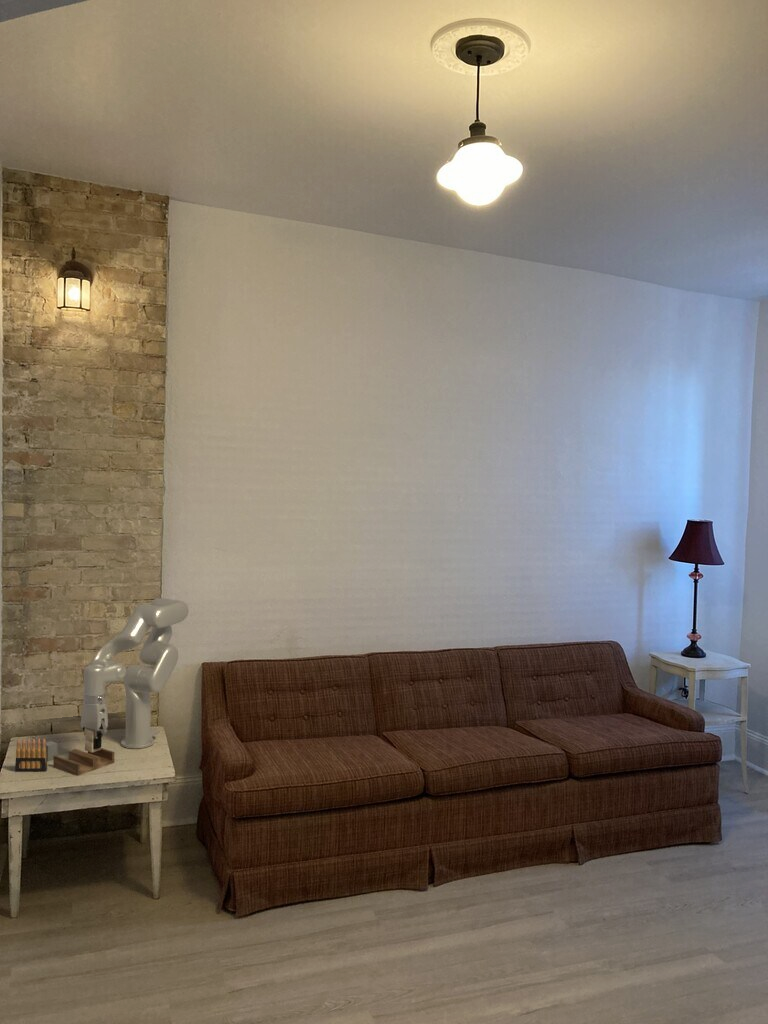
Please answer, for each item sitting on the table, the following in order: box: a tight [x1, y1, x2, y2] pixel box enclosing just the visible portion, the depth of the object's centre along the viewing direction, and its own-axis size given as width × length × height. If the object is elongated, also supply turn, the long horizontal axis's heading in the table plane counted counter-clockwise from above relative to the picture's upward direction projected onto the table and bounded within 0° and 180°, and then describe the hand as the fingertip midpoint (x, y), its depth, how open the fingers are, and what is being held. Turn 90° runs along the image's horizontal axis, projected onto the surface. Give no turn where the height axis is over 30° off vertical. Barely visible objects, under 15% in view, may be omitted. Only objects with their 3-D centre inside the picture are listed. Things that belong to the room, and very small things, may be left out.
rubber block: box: [41, 740, 58, 763], centre depth 308 cm, size 4×4×6 cm
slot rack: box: [52, 747, 115, 777], centre depth 303 cm, size 16×14×4 cm
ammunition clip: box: [14, 737, 48, 773], centre depth 296 cm, size 11×2×12 cm, turn 96°
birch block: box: [84, 728, 102, 752], centre depth 306 cm, size 4×4×8 cm
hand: (93, 746), depth 306 cm, fingers closed on birch block, 4 cm apart
